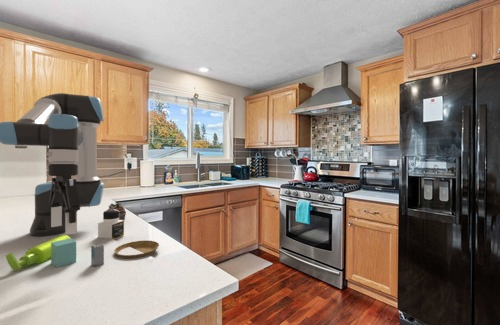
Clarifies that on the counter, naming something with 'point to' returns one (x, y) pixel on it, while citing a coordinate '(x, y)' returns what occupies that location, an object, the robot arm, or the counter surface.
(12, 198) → the counter surface
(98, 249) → the post grey
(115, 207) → the cupcake
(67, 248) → the teal foam cube
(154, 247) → the plant saucer
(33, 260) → the soap dispenser
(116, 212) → the medicine bottle
